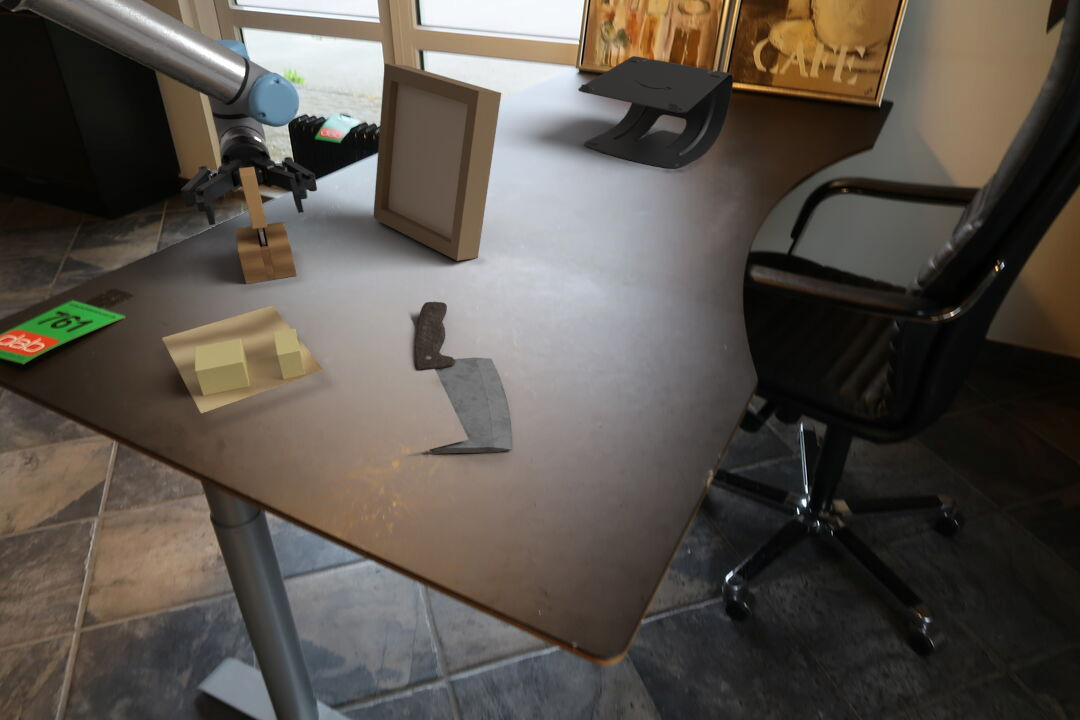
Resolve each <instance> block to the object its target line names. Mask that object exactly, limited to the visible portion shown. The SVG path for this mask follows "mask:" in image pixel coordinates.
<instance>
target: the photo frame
mask: <svg viewBox="0 0 1080 720" xmlns="http://www.w3.org/2000/svg"><path fill="white" fill-rule="evenodd" d="M381 94H382V95H381V109H380V121H379V135H378V137H379V138H378V147H377V159H376V175H375V191H374V203H373V215H372V216H373V217H372V219H374V220H376V221H377V222H380V223H382V224H384V225H386V226H387V227H390V228H392V229H394V230H396V231H398V232H399V233H402V234H403V235H406V236H408V237H409V238H411V239H413V240H415V241H417V242H419V243H421V244H423V245H425V246H427V247H429V248H430V249H432V250H434V251H437V252H438V253H441V254H443V255H445V256H447V257H449V258H451V259H453V260H455V261H456V262H457V261H465V260H472V259H478V258H479V254H480V253H479V252H480V247H481V246H480V245H481V239H482V233H483V232H482V231H483V226H484V225H483V224H484V217H485V211H486V203H487V195H488V189H489V181H490V175H491V169H492V162H493V155H494V147H495V141H496V135H497V134H496V133H497V126H498V120H499V114H500V113H499V112H500V105H501V98H502V92H501V91H496V90H493V89H490V88H486V87H483V86H479V85H475V84H472V83H468V82H465V81H461V80H458V79H455V78H451V77H447V76H444V75H440V74H437V73H435V72H430V71H427V70H424V69H420V68H416V67H413V66H410V65H403V64H397V63H396V64H393V63H386V62H385V63H384V66H383V80H382V93H381Z"/></svg>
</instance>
